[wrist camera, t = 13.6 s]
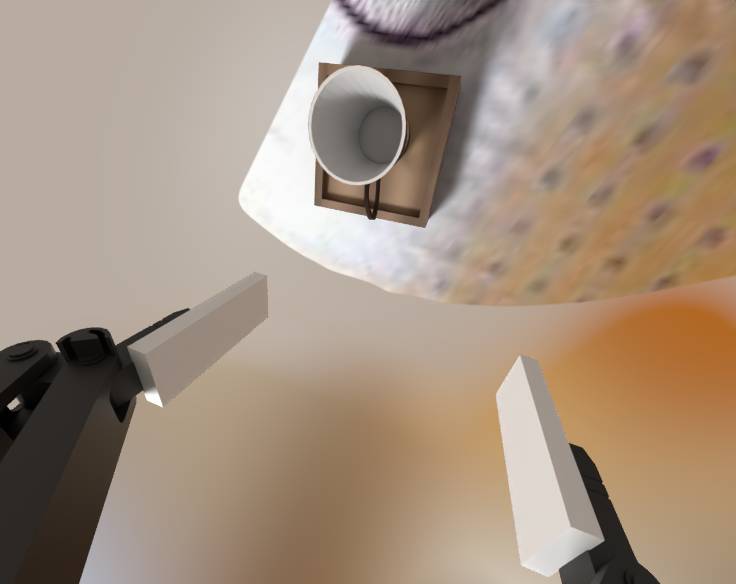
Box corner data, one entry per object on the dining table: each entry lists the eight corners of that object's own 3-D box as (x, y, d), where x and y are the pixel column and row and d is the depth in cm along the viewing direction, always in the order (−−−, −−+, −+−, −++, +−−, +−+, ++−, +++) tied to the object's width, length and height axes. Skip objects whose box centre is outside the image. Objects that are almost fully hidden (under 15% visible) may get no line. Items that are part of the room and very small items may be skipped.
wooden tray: (460, 86, 30) (460, 76, 26) (428, 219, 38) (424, 227, 33) (336, 73, 33) (318, 62, 29) (329, 199, 41) (314, 205, 36)
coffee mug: (360, 78, 29) (321, 47, 21) (433, 107, 29) (424, 88, 20) (333, 185, 35) (293, 195, 27) (393, 211, 35) (372, 230, 26)
